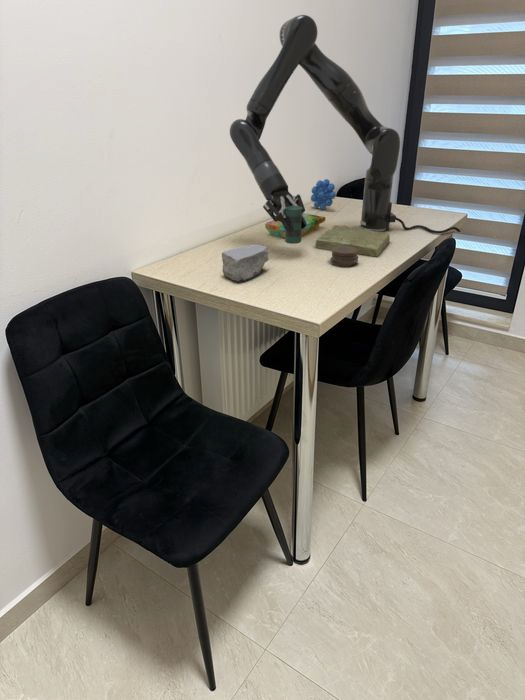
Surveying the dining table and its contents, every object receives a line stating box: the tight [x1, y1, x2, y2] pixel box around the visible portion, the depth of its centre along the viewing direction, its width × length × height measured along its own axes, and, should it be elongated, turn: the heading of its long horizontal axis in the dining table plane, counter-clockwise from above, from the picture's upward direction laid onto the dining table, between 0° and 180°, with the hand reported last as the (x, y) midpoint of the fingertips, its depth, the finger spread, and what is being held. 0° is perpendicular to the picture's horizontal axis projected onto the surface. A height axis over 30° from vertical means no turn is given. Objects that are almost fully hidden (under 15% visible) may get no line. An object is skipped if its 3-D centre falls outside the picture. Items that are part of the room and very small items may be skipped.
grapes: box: [310, 178, 337, 211], centre depth 205 cm, size 12×7×12 cm, turn 49°
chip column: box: [284, 206, 302, 245], centre depth 152 cm, size 5×5×10 cm
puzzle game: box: [264, 212, 327, 239], centre depth 179 cm, size 12×5×20 cm
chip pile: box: [329, 246, 359, 268], centre depth 150 cm, size 8×8×4 cm
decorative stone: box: [221, 244, 269, 283], centre depth 141 cm, size 15×7×10 cm
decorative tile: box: [315, 225, 391, 257], centre depth 166 cm, size 19×20×4 cm
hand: (297, 228), depth 151 cm, fingers closed on chip column, 5 cm apart
